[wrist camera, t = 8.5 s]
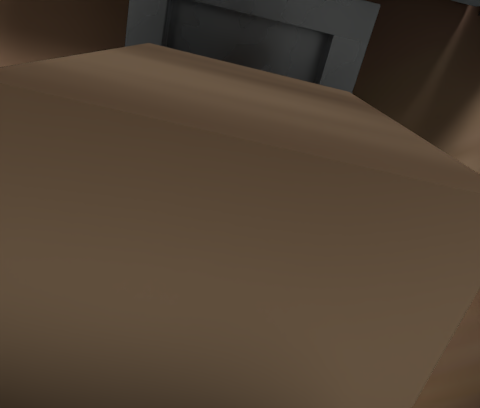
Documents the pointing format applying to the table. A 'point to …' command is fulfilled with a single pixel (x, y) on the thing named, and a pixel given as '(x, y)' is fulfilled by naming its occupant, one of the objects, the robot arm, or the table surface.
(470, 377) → the table surface
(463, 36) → the table surface
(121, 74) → the bar
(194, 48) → the keeper cradle
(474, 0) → the door
